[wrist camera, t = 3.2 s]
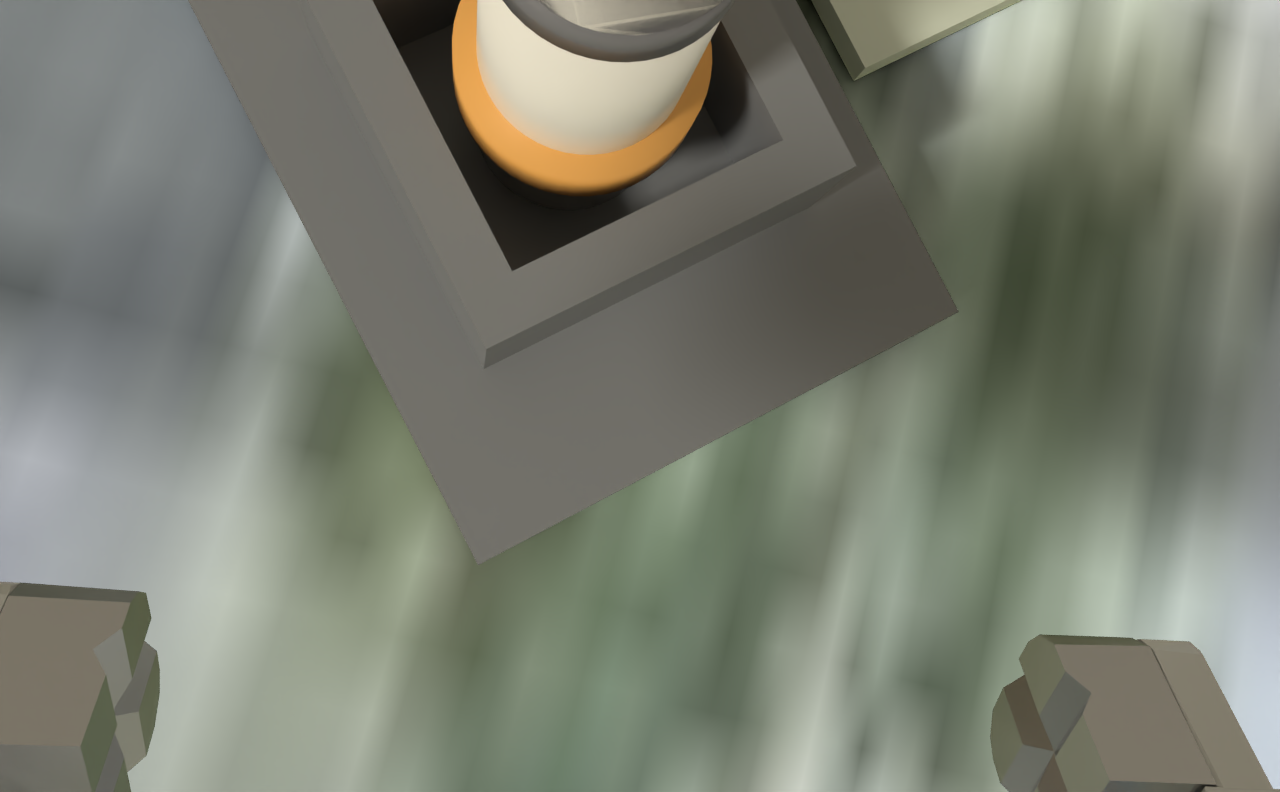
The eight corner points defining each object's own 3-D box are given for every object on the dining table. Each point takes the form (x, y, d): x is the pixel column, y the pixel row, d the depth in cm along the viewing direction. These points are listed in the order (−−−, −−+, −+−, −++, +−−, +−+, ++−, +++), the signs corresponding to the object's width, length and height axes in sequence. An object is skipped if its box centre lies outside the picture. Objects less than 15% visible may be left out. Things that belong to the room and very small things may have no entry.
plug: (415, 68, 24) (384, -192, 15) (612, -20, 25) (695, -318, 16) (517, 266, 24) (547, 123, 15) (712, 172, 25) (851, -18, 16)
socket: (164, -47, 25) (99, -168, 20) (636, -243, 27) (670, -392, 22) (477, 561, 25) (480, 572, 20) (930, 322, 26) (1024, 285, 22)
